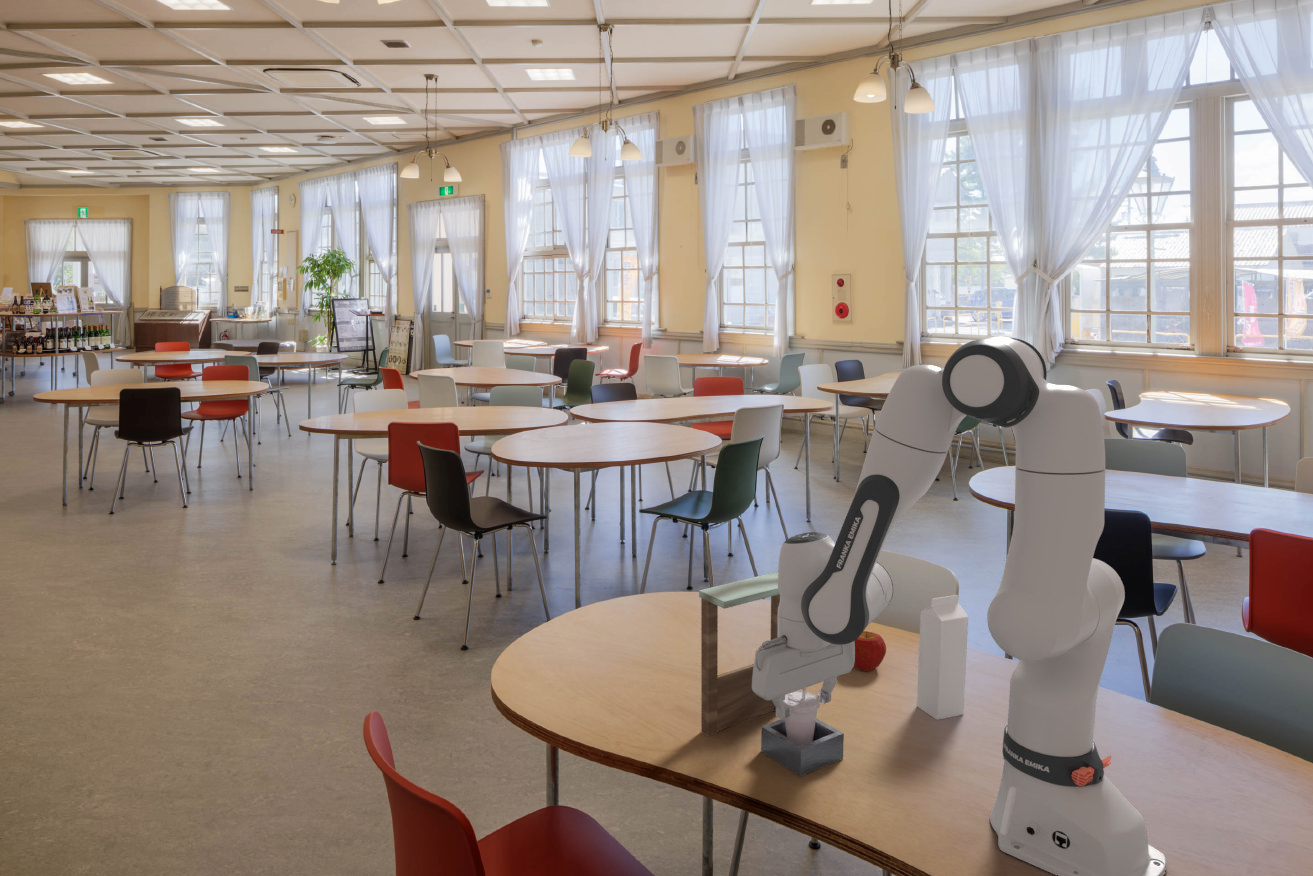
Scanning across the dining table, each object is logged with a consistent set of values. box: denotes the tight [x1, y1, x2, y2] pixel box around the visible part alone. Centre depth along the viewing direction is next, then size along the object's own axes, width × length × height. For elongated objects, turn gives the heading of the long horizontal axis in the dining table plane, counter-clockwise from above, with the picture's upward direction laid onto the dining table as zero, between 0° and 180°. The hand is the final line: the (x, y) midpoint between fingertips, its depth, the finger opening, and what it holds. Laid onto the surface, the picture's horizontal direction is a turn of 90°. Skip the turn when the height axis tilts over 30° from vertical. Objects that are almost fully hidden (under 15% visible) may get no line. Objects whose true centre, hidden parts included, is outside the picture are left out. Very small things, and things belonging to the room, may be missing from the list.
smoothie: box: [782, 687, 821, 746], centre depth 145 cm, size 6×6×14 cm
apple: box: [853, 630, 887, 672], centre depth 179 cm, size 8×8×8 cm
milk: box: [916, 594, 969, 721], centre depth 159 cm, size 6×6×22 cm
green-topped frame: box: [698, 571, 780, 737], centre depth 154 cm, size 7×19×26 cm, turn 124°
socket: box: [760, 717, 845, 777], centre depth 145 cm, size 10×10×4 cm
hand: (803, 709), depth 144 cm, fingers open, 8 cm apart
